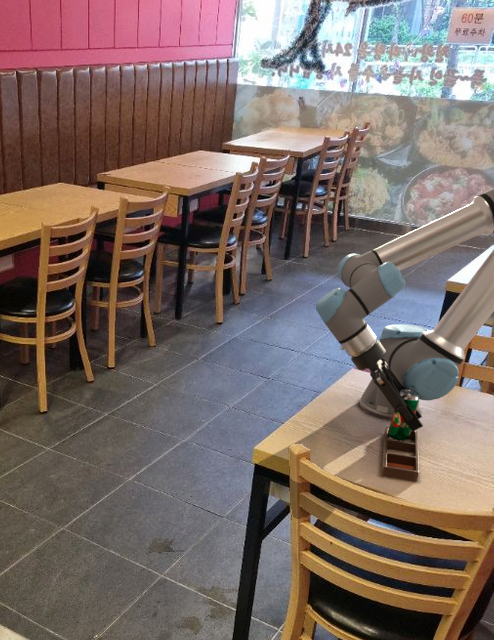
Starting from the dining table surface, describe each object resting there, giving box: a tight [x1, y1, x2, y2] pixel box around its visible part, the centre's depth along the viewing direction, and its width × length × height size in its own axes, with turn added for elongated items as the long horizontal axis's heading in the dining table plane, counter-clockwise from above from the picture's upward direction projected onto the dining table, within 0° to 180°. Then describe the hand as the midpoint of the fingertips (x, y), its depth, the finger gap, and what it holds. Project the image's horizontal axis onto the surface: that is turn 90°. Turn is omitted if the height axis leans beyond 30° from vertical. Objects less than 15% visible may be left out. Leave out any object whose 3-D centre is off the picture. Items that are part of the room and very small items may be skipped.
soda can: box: [388, 389, 420, 442], centre depth 181 cm, size 5×5×12 cm
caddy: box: [381, 426, 420, 483], centre depth 178 cm, size 22×8×2 cm, turn 162°
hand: (417, 423), depth 180 cm, fingers closed on soda can, 5 cm apart
